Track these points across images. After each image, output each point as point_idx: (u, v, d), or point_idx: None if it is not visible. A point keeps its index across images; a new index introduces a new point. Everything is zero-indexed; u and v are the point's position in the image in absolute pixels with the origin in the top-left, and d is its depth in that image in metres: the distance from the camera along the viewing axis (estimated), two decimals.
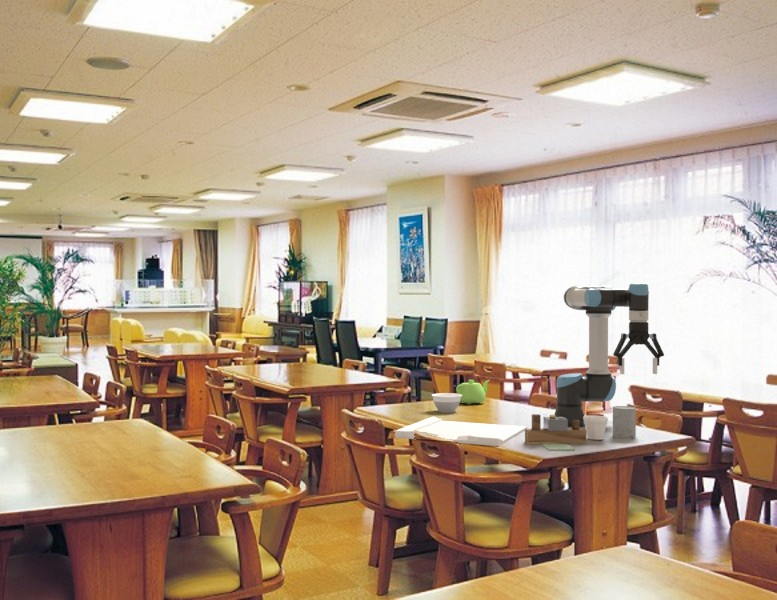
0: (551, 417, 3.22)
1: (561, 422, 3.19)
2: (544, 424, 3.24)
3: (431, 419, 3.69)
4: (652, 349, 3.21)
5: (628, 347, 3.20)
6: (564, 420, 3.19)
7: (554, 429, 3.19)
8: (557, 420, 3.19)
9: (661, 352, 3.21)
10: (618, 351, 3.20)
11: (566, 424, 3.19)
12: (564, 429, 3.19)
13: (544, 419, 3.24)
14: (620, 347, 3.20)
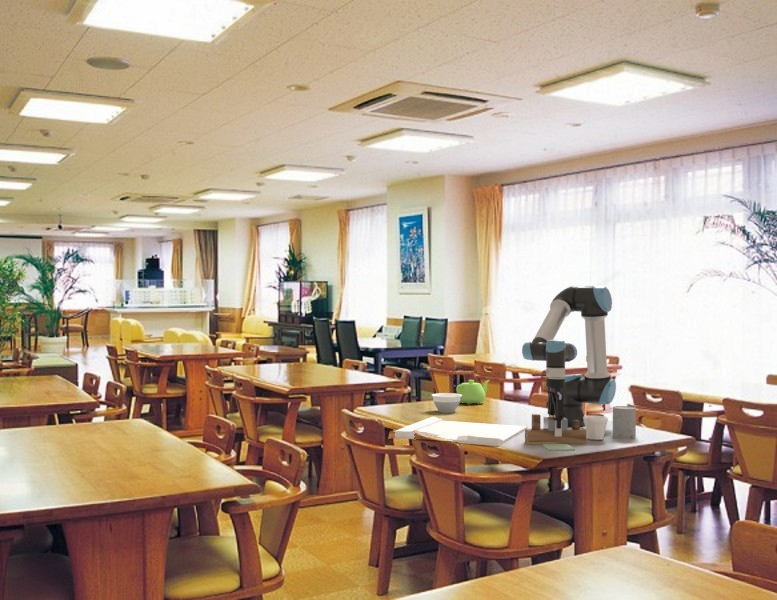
0: (551, 417, 3.22)
1: None
2: (544, 424, 3.24)
3: (431, 419, 3.69)
4: (555, 409, 3.19)
5: (550, 404, 3.26)
6: (564, 420, 3.19)
7: (554, 429, 3.19)
8: None
9: (557, 415, 3.16)
10: (548, 409, 3.29)
11: (566, 424, 3.19)
12: (564, 429, 3.19)
13: (544, 419, 3.24)
14: (548, 405, 3.29)
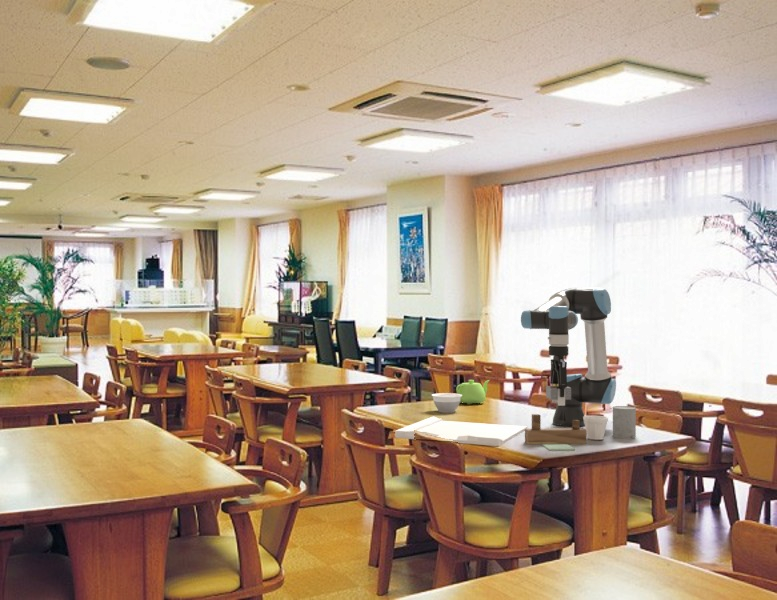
0: (554, 386, 3.10)
1: None
2: (547, 393, 3.13)
3: (431, 419, 3.69)
4: (558, 377, 3.08)
5: (553, 373, 3.14)
6: (567, 389, 3.08)
7: (557, 398, 3.08)
8: None
9: (560, 383, 3.05)
10: (550, 378, 3.18)
11: (569, 393, 3.08)
12: (567, 398, 3.08)
13: (547, 388, 3.13)
14: (551, 374, 3.17)
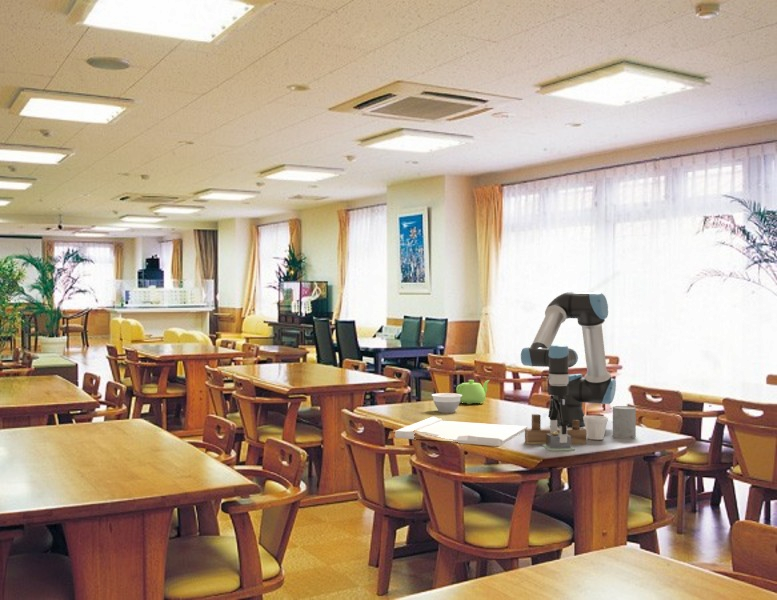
0: (554, 434, 3.10)
1: None
2: (547, 441, 3.13)
3: (431, 419, 3.69)
4: (559, 415, 3.06)
5: (552, 410, 3.16)
6: (567, 437, 3.08)
7: (557, 446, 3.08)
8: None
9: (562, 420, 3.03)
10: (549, 412, 3.20)
11: (569, 441, 3.08)
12: (567, 447, 3.08)
13: (547, 436, 3.13)
14: (549, 408, 3.19)
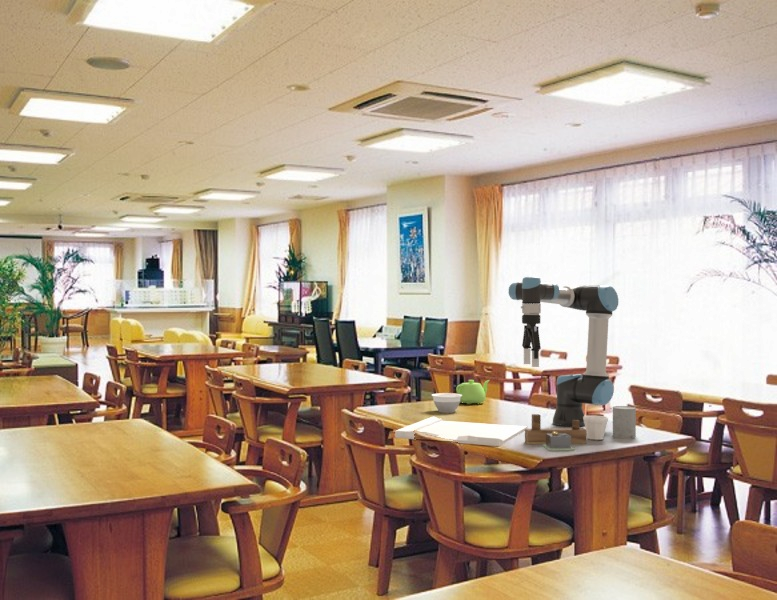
0: (554, 434, 3.10)
1: (564, 439, 3.08)
2: (547, 441, 3.13)
3: (431, 419, 3.69)
4: (531, 342, 3.25)
5: (525, 338, 3.34)
6: (567, 437, 3.08)
7: (557, 446, 3.08)
8: (560, 437, 3.08)
9: (534, 345, 3.21)
10: (523, 342, 3.39)
11: (569, 441, 3.08)
12: (567, 447, 3.08)
13: (547, 436, 3.13)
14: (523, 338, 3.38)
